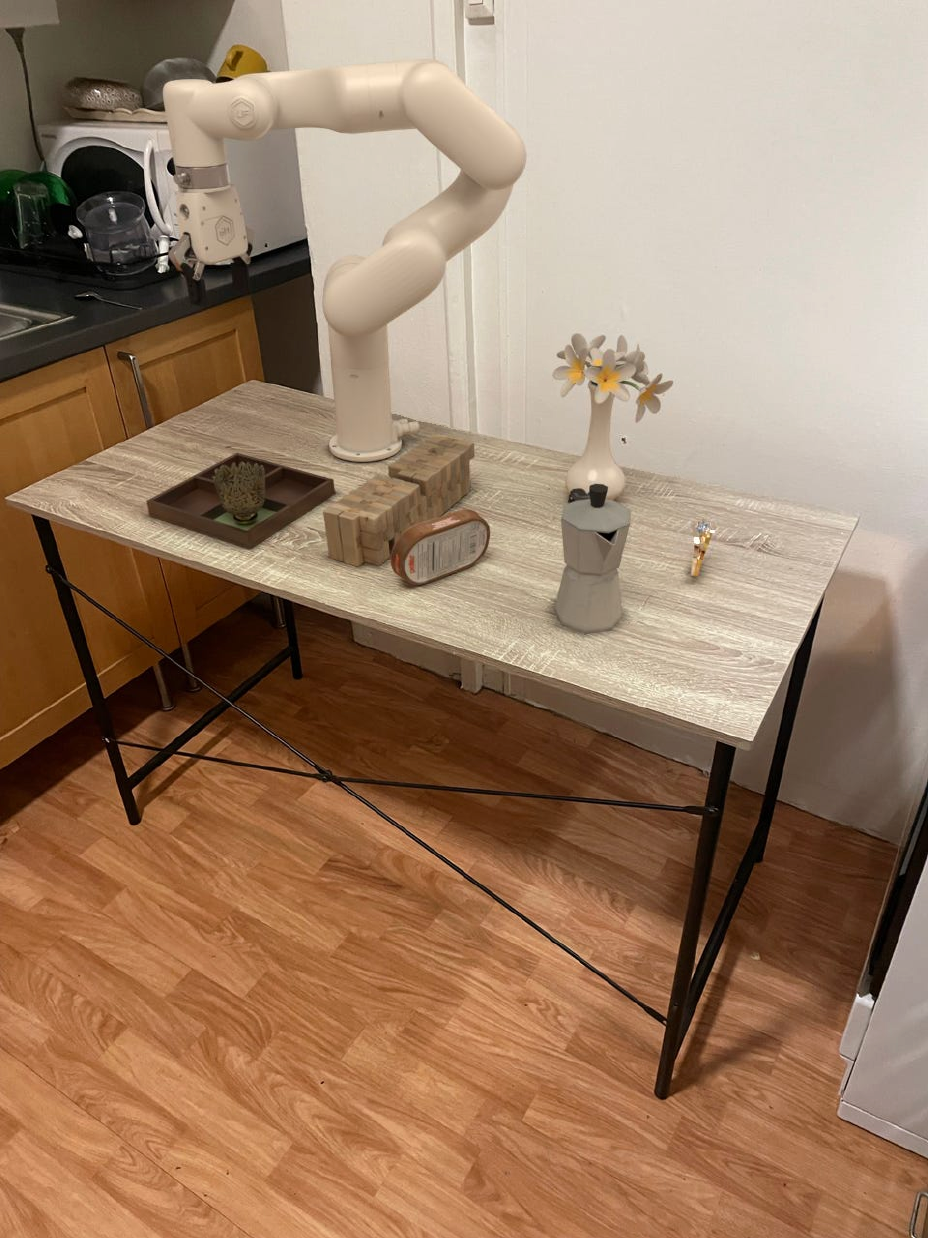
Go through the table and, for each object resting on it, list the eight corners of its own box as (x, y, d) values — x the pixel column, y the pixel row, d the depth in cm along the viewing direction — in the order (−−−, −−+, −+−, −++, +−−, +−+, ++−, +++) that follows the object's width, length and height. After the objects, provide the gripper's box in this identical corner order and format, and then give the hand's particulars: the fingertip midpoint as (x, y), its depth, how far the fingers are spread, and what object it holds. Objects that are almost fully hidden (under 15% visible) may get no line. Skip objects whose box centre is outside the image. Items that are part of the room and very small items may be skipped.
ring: (702, 589, 122) (712, 536, 118) (678, 584, 123) (686, 532, 119) (711, 563, 128) (720, 512, 123) (688, 559, 129) (696, 508, 124)
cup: (265, 533, 134) (258, 483, 129) (215, 532, 134) (206, 483, 129) (275, 509, 140) (269, 460, 135) (227, 508, 140) (219, 460, 135)
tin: (480, 552, 131) (480, 499, 126) (493, 561, 129) (494, 508, 124) (390, 586, 123) (387, 531, 119) (403, 596, 121) (400, 541, 117)
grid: (239, 466, 154) (236, 452, 153) (335, 494, 146) (333, 479, 144) (149, 516, 140) (145, 500, 138) (250, 549, 132) (247, 533, 130)
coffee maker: (638, 637, 113) (654, 507, 103) (569, 646, 112) (579, 516, 102) (598, 575, 125) (609, 453, 115) (536, 582, 124) (542, 460, 114)
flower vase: (629, 535, 134) (648, 368, 120) (526, 499, 144) (532, 340, 130) (671, 502, 143) (693, 343, 129) (571, 470, 152) (581, 318, 138)
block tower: (373, 577, 127) (477, 487, 147) (368, 524, 122) (476, 439, 142) (327, 562, 130) (435, 476, 150) (321, 510, 125) (433, 429, 145)
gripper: (178, 189, 126) (199, 314, 136) (262, 170, 139) (275, 287, 148) (140, 184, 130) (163, 307, 139) (224, 166, 142) (240, 281, 152)
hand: (221, 297), depth 144 cm, fingers open, 9 cm apart
